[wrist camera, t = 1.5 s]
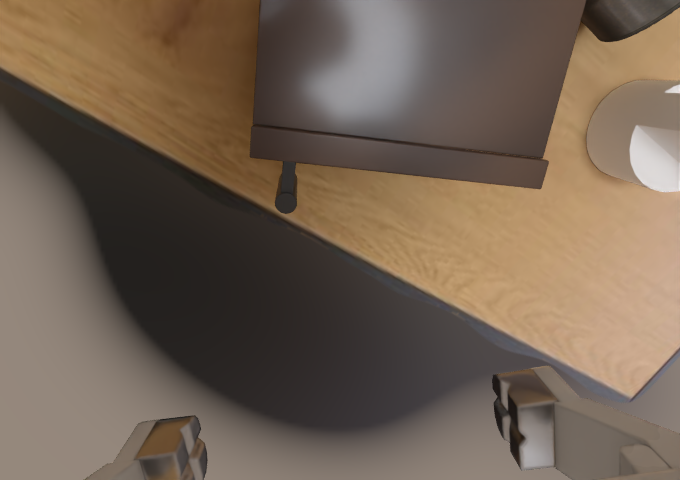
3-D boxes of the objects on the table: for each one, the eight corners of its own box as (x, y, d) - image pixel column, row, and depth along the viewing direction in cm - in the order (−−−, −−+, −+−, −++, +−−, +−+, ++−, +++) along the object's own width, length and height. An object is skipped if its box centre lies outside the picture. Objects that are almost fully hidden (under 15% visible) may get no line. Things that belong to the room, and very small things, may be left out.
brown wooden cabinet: (266, 128, 40) (249, 157, 26) (277, -23, 36) (263, -83, 22) (461, 151, 42) (541, 189, 28) (491, 11, 38) (601, -24, 24)
